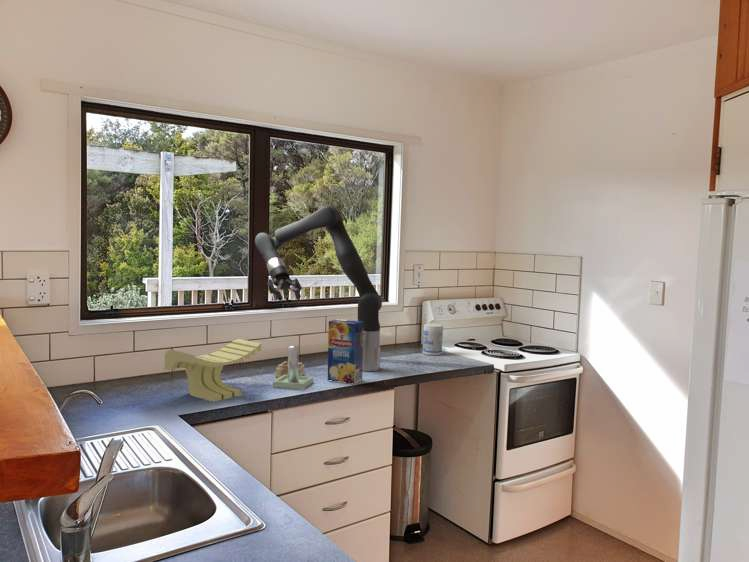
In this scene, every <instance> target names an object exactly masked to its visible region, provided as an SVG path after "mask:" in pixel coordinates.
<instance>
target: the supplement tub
mask: <svg viewBox="0 0 749 562" xmlns="http://www.w3.org/2000/svg"><path fill="white" fill-rule="evenodd" d="M443 333H444V326H443V324H439V323H424V326H423V334H422V335H423V337H422V354H423V355H425V356H433V357H434V356H441V355H442V351H443V338H444V336H443V335H444V334H443Z"/></svg>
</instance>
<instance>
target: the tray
mask: <svg viewBox="0 0 749 562" xmlns="http://www.w3.org/2000/svg"><path fill="white" fill-rule="evenodd" d="M312 382H313V383H314V376H306V375H304V376H299V382H298V383H292V382H288V375H283V376H281V377H280V378H275V380H273V381H272V388H277V387H282V388H281V389H288V388H292V389H291V390H300V389H303V390H304V388H305V387H306V388H308V387H309V386H310V385H311V383H312ZM313 383H312V384H313ZM309 384H310V385H309ZM308 385H309V386H308ZM306 388H305V389H306Z"/></svg>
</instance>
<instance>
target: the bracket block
mask: <svg viewBox="0 0 749 562" xmlns="http://www.w3.org/2000/svg"><path fill="white" fill-rule="evenodd" d="M298 369H299V376H303V375H304V376H305V365H304V364H303V362H298ZM283 375H288V361H283V362H282V363H279V364H278V365H277V367H276V368H275V379H278V378H280V377H281V376H283Z"/></svg>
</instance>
